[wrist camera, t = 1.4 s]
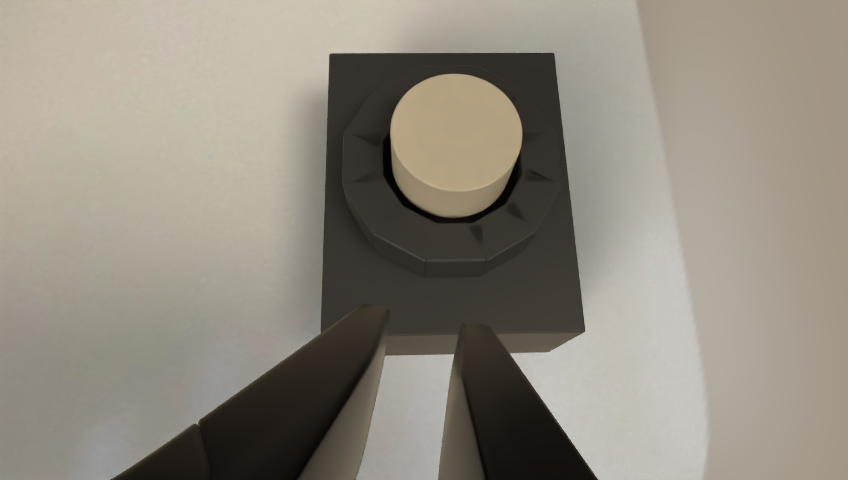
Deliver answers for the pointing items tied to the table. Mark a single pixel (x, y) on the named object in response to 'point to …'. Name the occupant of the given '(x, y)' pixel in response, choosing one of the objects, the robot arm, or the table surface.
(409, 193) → the stop button
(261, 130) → the table surface
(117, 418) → the table surface
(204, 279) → the table surface
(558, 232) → the block
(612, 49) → the table surface
